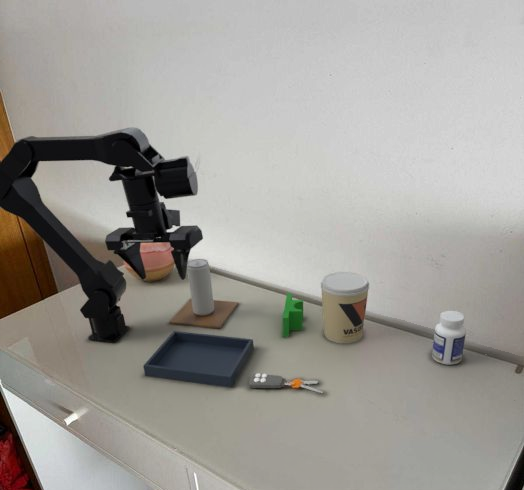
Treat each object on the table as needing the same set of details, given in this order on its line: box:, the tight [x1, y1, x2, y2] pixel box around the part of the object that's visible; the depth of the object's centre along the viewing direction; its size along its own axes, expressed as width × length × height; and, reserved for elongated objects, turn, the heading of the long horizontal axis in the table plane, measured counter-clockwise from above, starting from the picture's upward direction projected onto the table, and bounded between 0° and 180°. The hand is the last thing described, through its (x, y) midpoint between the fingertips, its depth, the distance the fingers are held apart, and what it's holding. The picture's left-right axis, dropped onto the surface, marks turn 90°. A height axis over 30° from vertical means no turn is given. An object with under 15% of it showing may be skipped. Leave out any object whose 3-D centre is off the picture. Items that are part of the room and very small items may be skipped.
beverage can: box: [186, 258, 214, 316], centre depth 110 cm, size 5×5×12 cm
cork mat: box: [169, 298, 239, 330], centre depth 113 cm, size 12×12×1 cm
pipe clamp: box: [282, 293, 304, 338], centre depth 106 cm, size 11×4×5 cm, turn 173°
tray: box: [142, 330, 255, 388], centre depth 95 cm, size 17×13×2 cm
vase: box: [122, 237, 176, 283], centre depth 129 cm, size 14×14×18 cm
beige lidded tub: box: [320, 271, 370, 344], centre depth 99 cm, size 9×9×12 cm
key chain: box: [248, 372, 323, 394], centre depth 87 cm, size 13×4×2 cm, turn 80°
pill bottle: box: [431, 310, 467, 366], centre depth 91 cm, size 5×5×9 cm
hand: (163, 278), depth 99 cm, fingers open, 9 cm apart
